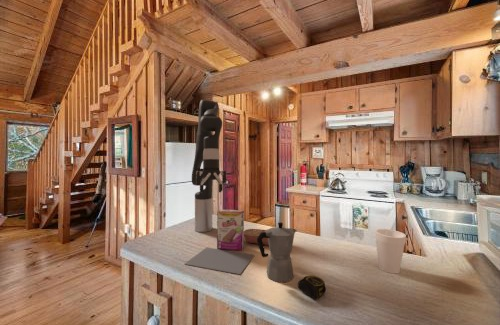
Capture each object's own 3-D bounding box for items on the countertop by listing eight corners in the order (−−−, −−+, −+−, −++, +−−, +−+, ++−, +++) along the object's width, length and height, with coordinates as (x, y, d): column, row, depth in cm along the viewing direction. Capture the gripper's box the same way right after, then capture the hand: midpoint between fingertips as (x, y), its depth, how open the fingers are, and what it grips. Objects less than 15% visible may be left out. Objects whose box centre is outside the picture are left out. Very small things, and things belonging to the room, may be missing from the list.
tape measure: (296, 291, 68) (296, 278, 68) (311, 283, 72) (312, 272, 72) (314, 303, 62) (314, 290, 62) (330, 294, 66) (330, 282, 66)
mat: (206, 248, 99) (206, 247, 99) (254, 255, 92) (254, 254, 92) (184, 264, 84) (184, 263, 84) (240, 274, 77) (240, 274, 77)
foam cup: (394, 278, 75) (395, 239, 75) (368, 266, 83) (369, 231, 83) (410, 271, 80) (411, 235, 79) (384, 260, 88) (385, 227, 87)
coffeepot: (287, 265, 84) (288, 216, 83) (304, 277, 75) (305, 223, 75) (250, 274, 77) (250, 222, 77) (264, 289, 69) (264, 230, 68)
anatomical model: (240, 244, 104) (240, 233, 104) (248, 237, 113) (248, 227, 113) (289, 253, 95) (289, 241, 95) (294, 244, 104) (294, 233, 104)
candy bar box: (216, 249, 97) (216, 211, 97) (219, 245, 102) (219, 209, 102) (242, 251, 96) (242, 212, 96) (244, 246, 101) (244, 209, 101)
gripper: (223, 158, 114) (223, 191, 114) (194, 158, 109) (194, 192, 109) (227, 158, 107) (228, 192, 107) (197, 158, 102) (197, 194, 102)
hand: (211, 192), depth 108 cm, fingers open, 8 cm apart
